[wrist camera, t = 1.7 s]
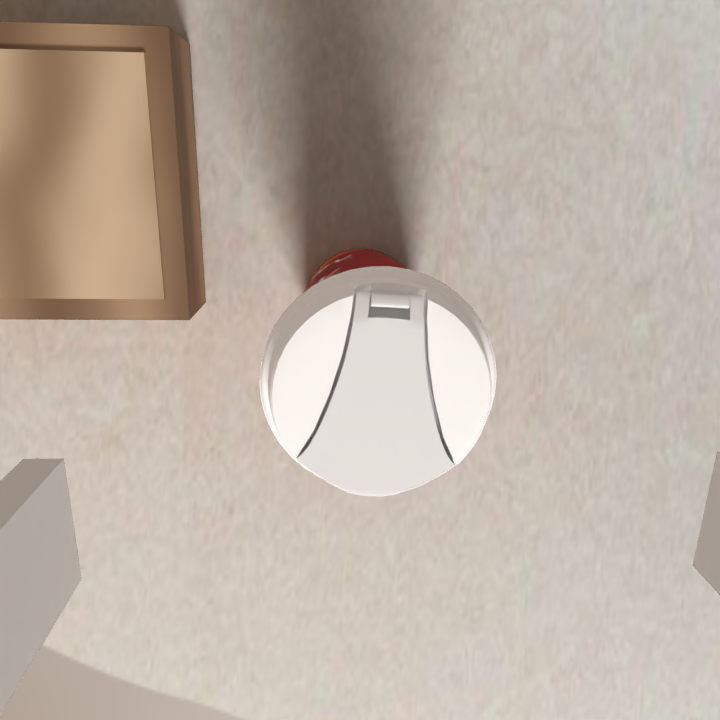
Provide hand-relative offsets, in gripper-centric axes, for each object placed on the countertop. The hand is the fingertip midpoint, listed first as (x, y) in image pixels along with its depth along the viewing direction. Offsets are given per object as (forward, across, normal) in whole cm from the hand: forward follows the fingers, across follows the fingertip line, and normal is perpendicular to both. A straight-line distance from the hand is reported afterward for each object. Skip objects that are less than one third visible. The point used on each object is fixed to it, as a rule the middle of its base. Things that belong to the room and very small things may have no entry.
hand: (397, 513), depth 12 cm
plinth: (+20, +14, -6) cm, 25 cm away
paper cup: (+21, 0, 0) cm, 21 cm away
